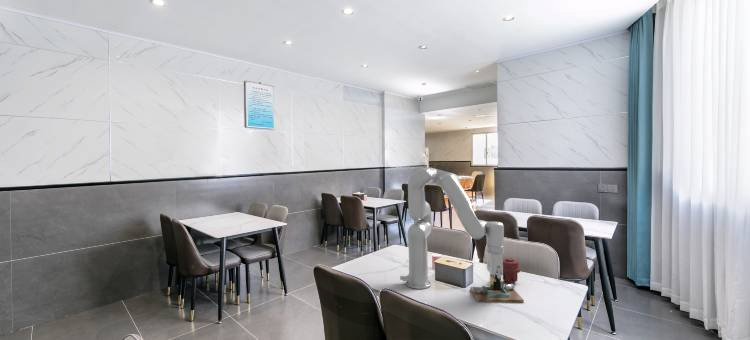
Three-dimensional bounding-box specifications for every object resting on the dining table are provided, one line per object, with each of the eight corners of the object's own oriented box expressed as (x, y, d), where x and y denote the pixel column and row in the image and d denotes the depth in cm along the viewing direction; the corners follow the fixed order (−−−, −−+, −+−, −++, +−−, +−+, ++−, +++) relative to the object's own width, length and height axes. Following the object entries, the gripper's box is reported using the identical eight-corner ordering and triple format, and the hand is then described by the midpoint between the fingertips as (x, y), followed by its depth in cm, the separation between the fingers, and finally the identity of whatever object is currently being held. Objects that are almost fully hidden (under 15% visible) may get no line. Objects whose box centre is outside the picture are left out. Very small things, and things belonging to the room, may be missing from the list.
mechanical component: (518, 279, 169) (522, 287, 159) (498, 278, 171) (501, 285, 161) (518, 256, 168) (522, 262, 159) (497, 255, 170) (501, 261, 161)
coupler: (491, 290, 147) (491, 276, 147) (488, 286, 151) (488, 273, 151) (502, 290, 146) (502, 277, 146) (499, 286, 151) (499, 273, 151)
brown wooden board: (477, 301, 143) (477, 292, 143) (470, 289, 157) (470, 280, 157) (523, 302, 141) (523, 292, 141) (512, 290, 155) (512, 281, 155)
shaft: (507, 293, 150) (507, 285, 150) (501, 290, 153) (501, 283, 153) (515, 291, 152) (515, 283, 152) (509, 288, 155) (509, 281, 155)
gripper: (482, 244, 157) (482, 281, 158) (491, 253, 140) (492, 295, 141) (498, 244, 157) (498, 281, 157) (509, 253, 140) (509, 295, 140)
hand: (495, 287), depth 149 cm, fingers closed on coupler, 4 cm apart
